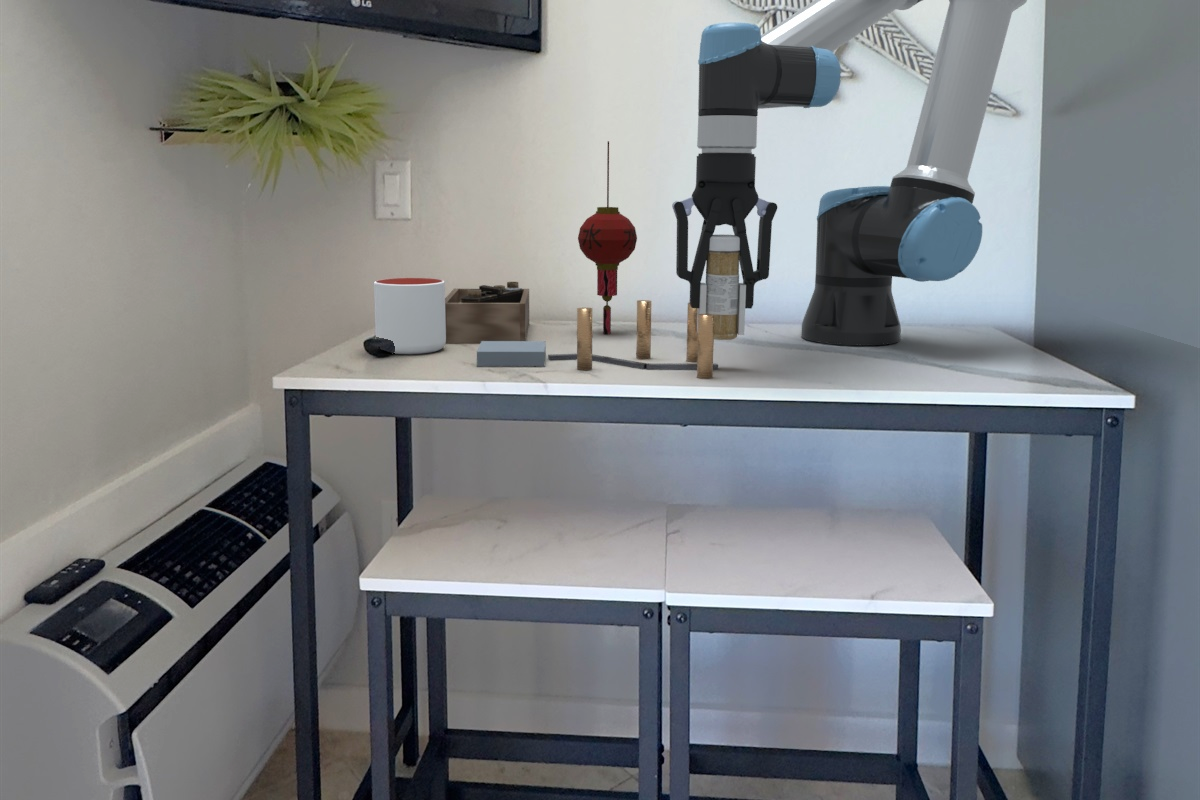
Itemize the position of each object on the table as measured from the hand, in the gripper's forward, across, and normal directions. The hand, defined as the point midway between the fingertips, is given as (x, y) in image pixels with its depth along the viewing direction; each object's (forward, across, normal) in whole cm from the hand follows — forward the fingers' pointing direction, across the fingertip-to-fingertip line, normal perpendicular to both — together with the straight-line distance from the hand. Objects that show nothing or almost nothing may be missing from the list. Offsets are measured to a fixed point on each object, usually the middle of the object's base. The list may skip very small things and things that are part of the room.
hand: (720, 332), depth 144 cm
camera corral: (+5, +32, -32) cm, 46 cm away
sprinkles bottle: (+1, 0, 0) cm, 1 cm away
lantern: (+5, +14, -31) cm, 34 cm away
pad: (+5, +28, -6) cm, 29 cm away
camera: (+5, +33, -30) cm, 45 cm away
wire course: (+5, +11, -1) cm, 13 cm away
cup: (+5, +43, -15) cm, 46 cm away
